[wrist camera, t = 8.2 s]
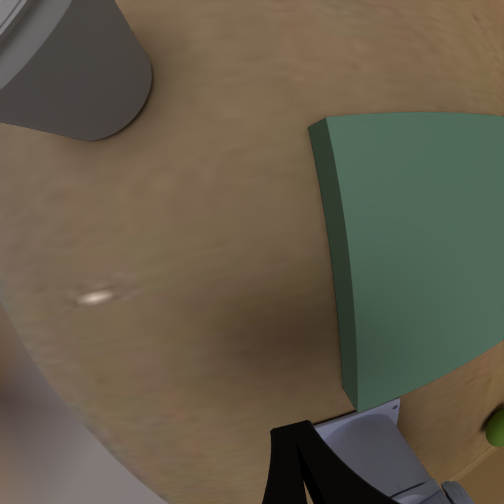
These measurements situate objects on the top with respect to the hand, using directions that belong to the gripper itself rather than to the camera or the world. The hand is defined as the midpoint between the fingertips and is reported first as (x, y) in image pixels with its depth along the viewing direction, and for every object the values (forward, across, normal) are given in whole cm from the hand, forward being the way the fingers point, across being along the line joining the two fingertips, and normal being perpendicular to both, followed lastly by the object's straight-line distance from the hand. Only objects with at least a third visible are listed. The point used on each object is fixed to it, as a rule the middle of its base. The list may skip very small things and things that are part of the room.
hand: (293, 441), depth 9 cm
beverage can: (+10, +6, -16) cm, 20 cm away
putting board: (+9, -17, -2) cm, 20 cm away
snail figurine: (+10, -28, +26) cm, 39 cm away
